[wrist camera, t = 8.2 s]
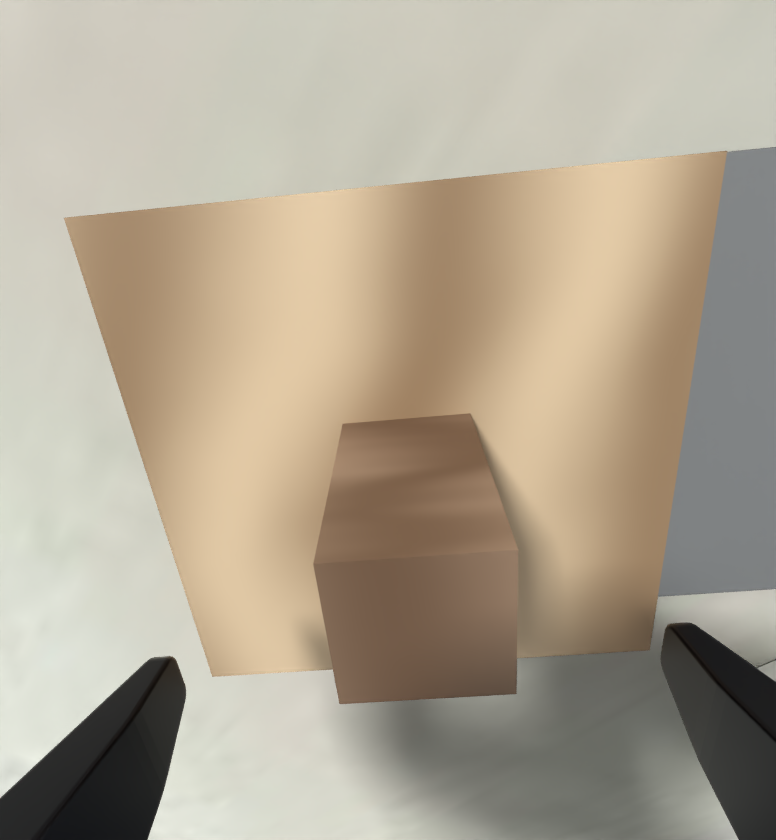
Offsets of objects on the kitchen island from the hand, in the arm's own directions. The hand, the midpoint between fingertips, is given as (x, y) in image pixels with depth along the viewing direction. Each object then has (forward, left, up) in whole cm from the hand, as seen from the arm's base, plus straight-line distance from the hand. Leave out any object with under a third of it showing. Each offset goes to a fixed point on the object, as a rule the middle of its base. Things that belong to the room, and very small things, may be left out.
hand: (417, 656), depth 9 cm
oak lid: (0, -1, -5) cm, 5 cm away
